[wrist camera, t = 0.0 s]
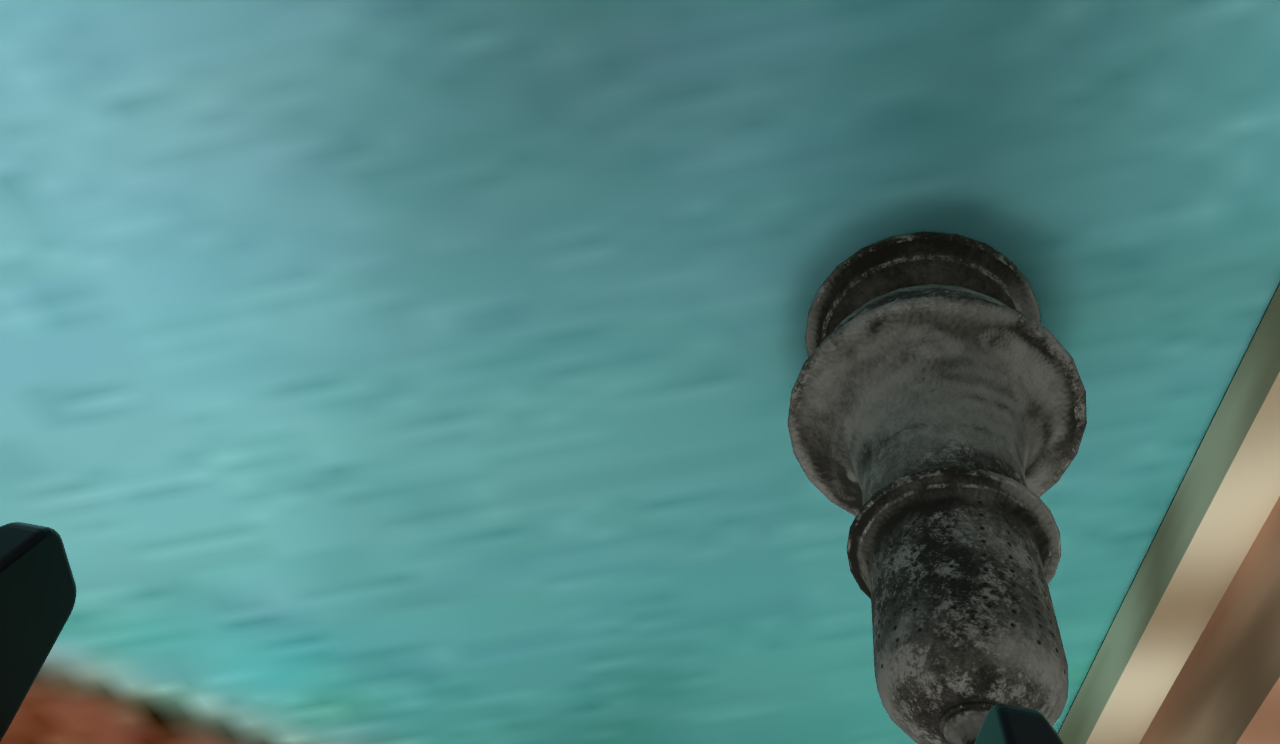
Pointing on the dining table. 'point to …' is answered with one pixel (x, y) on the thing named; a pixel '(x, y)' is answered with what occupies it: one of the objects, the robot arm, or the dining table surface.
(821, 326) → the salt shaker
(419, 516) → the dining table surface
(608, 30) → the dining table surface
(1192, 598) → the shaker holder
